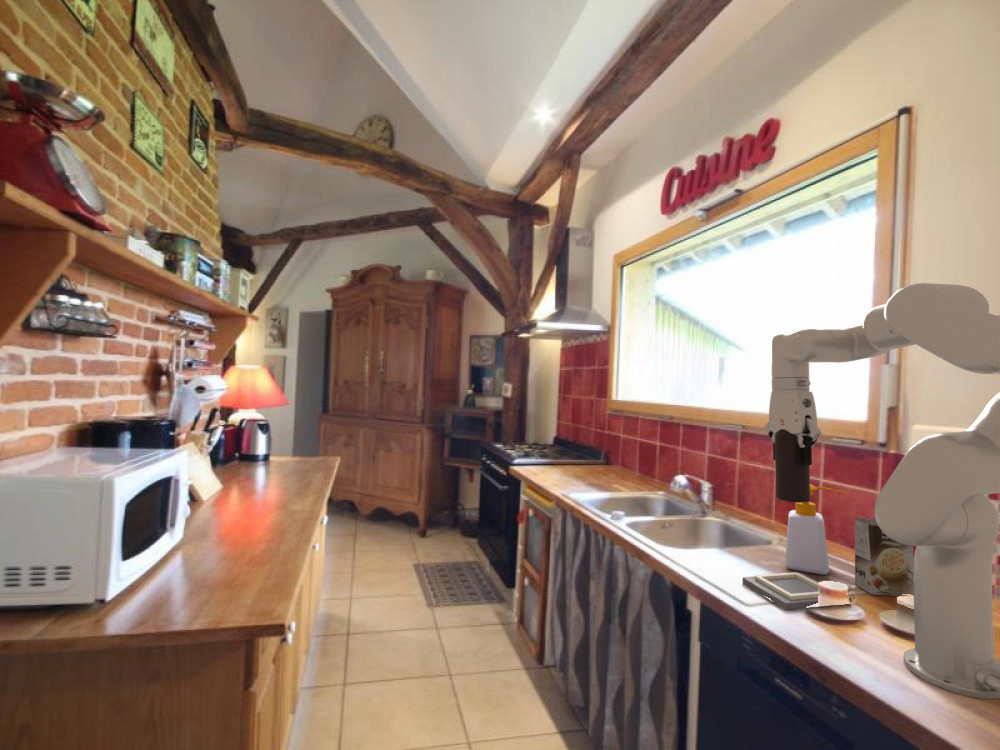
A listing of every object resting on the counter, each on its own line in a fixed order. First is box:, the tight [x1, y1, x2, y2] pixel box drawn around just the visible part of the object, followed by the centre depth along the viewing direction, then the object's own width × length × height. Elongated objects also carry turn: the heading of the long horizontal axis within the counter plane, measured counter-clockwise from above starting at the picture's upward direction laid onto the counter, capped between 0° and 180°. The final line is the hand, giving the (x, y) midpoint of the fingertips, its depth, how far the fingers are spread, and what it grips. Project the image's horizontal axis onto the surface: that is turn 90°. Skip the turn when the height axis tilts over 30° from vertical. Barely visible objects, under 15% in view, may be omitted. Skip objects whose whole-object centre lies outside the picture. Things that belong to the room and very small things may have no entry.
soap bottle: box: [784, 483, 848, 575], centre depth 125 cm, size 10×14×22 cm
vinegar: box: [774, 417, 811, 503], centre depth 111 cm, size 7×7×20 cm
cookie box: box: [854, 517, 914, 597], centre depth 112 cm, size 9×6×16 cm
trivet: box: [742, 571, 852, 611], centre depth 110 cm, size 14×16×2 cm
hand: (791, 461), depth 111 cm, fingers closed on vinegar, 6 cm apart
